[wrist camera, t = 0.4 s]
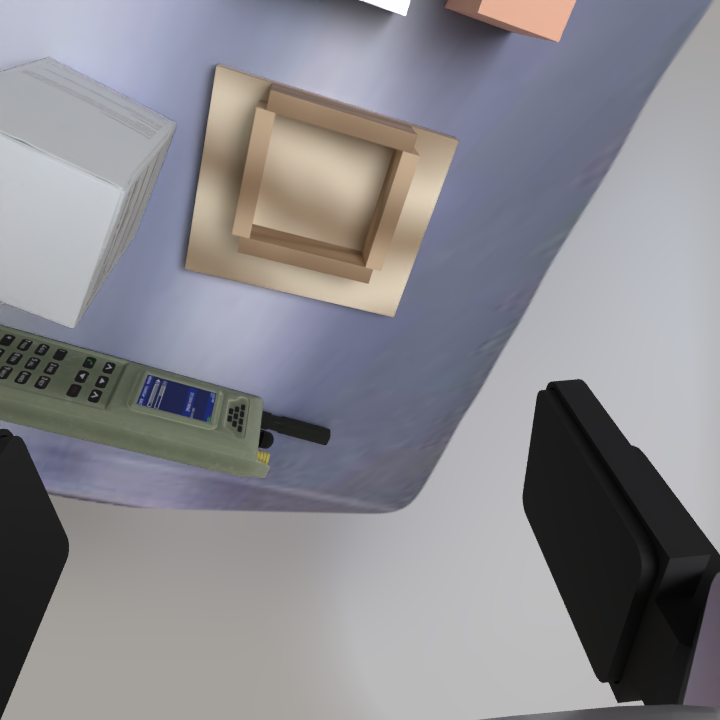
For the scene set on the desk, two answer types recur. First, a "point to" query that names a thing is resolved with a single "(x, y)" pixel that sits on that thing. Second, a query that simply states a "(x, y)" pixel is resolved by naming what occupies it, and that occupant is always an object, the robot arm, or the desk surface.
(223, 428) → the handheld radio
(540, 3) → the block
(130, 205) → the supplement box
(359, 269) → the socket board
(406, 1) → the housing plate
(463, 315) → the desk surface
